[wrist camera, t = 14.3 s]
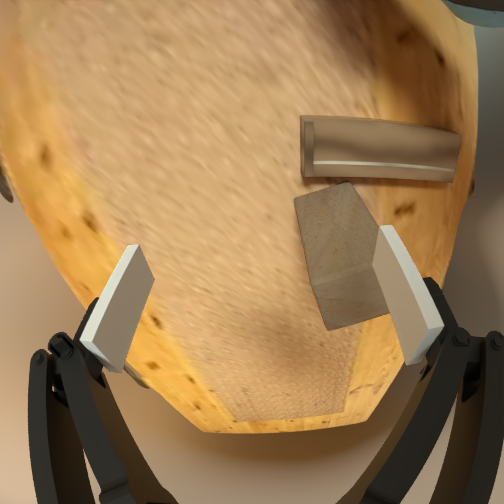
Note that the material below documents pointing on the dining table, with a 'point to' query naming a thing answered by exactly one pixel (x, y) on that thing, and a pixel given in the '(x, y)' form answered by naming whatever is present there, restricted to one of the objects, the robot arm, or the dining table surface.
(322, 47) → the dining table surface
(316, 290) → the wooden block
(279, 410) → the dining table surface
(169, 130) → the dining table surface
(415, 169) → the curved panel
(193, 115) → the dining table surface
